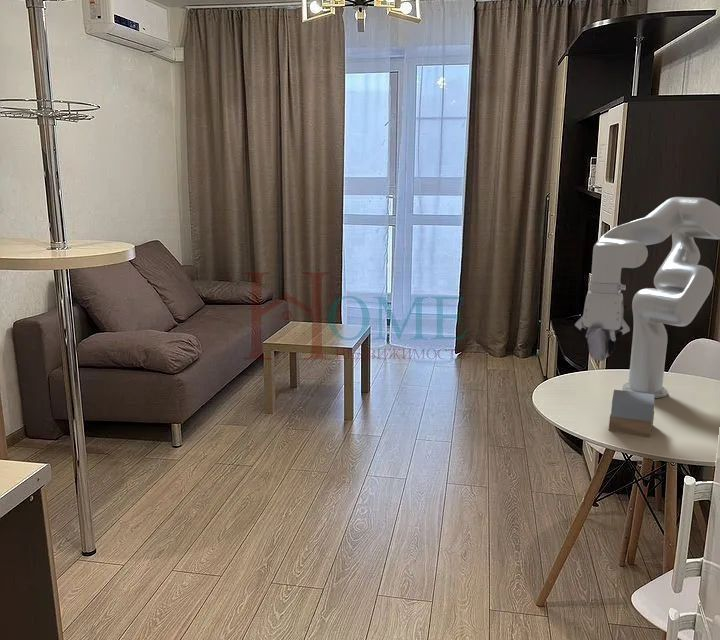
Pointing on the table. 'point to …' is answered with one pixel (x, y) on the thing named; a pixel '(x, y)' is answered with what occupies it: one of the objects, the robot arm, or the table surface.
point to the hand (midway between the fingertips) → (600, 351)
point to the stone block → (598, 343)
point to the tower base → (630, 426)
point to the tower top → (633, 405)
